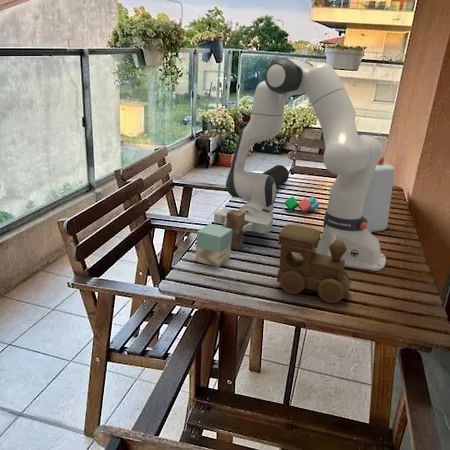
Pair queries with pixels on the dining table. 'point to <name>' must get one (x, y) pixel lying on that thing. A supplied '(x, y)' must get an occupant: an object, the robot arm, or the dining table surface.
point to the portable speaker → (278, 174)
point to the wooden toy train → (311, 264)
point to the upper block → (214, 238)
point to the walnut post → (235, 227)
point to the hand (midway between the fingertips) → (233, 227)
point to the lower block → (212, 256)
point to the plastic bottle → (379, 197)
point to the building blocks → (302, 204)
